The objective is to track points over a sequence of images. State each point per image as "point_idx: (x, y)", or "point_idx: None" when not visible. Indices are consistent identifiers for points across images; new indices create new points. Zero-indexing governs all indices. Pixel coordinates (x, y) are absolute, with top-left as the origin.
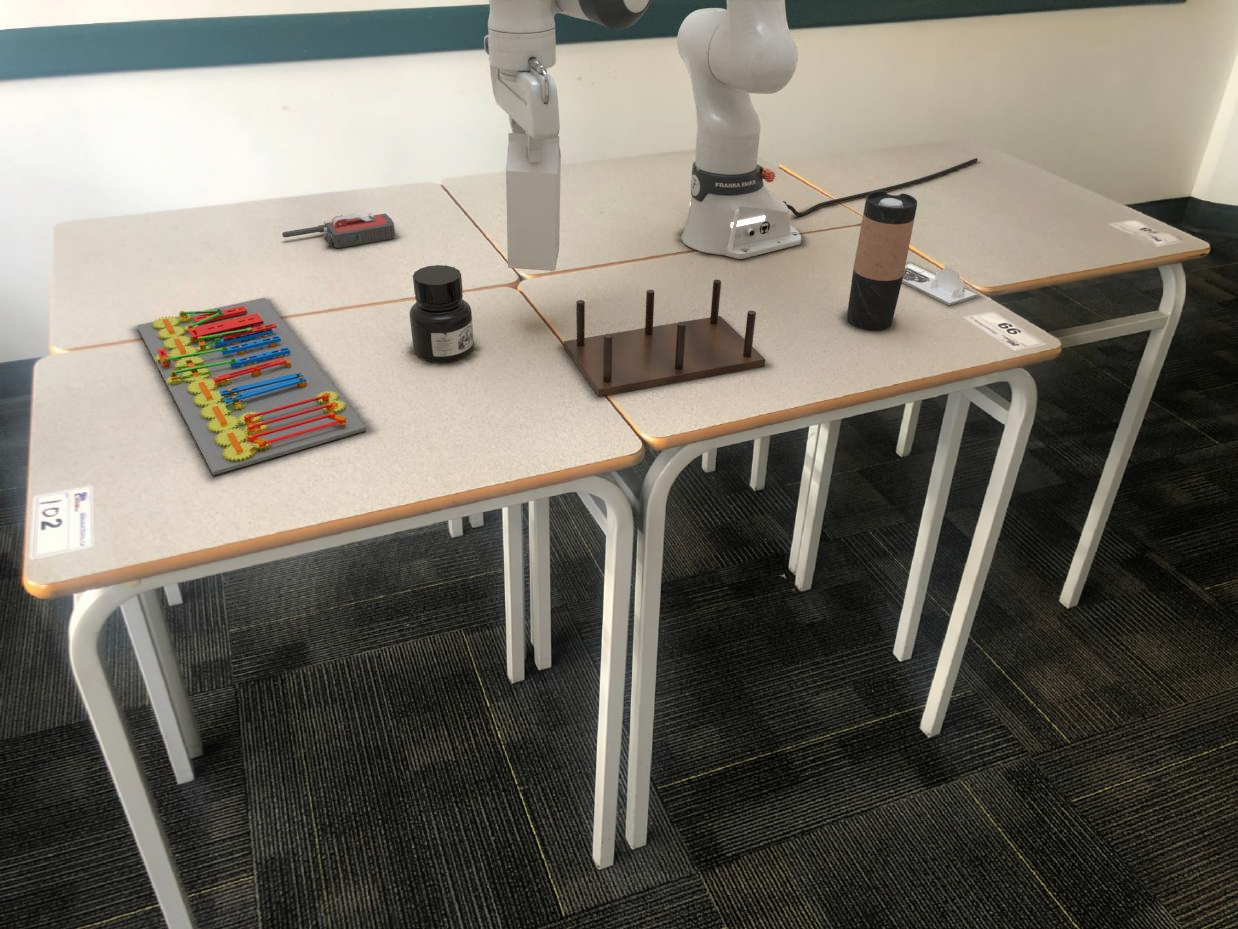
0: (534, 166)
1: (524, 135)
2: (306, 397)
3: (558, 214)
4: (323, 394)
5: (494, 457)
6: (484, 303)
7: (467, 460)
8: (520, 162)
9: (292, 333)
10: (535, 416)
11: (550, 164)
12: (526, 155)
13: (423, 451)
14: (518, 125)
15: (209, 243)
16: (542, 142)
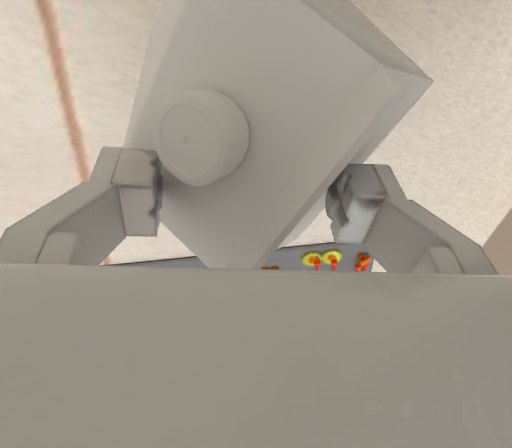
0: None
1: (265, 254)
2: (297, 268)
3: None
4: (315, 265)
5: (506, 159)
6: (117, 29)
7: (487, 181)
8: (309, 212)
9: (159, 263)
10: (484, 92)
11: (397, 109)
12: (331, 215)
13: (441, 208)
14: (84, 243)
15: None
16: (452, 230)
